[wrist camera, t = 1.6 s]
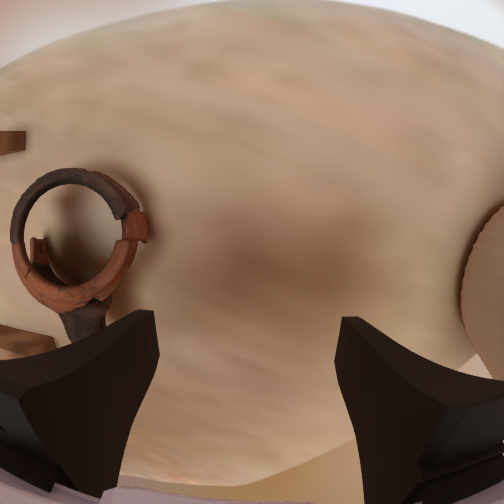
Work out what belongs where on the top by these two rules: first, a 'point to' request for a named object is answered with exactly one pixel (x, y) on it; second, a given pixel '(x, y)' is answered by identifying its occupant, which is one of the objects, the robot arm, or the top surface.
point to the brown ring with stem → (101, 286)
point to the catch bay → (6, 338)
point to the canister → (486, 295)
